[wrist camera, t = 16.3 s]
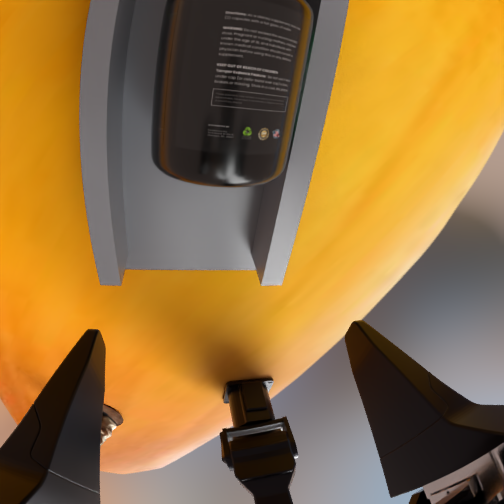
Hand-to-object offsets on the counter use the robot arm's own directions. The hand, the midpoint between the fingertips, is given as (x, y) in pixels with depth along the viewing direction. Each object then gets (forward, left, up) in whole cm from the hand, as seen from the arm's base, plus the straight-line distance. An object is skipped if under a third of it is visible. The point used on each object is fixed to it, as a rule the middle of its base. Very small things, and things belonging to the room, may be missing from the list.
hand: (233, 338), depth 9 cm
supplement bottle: (+3, 0, -8) cm, 9 cm away
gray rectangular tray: (+6, +1, -12) cm, 14 cm away
